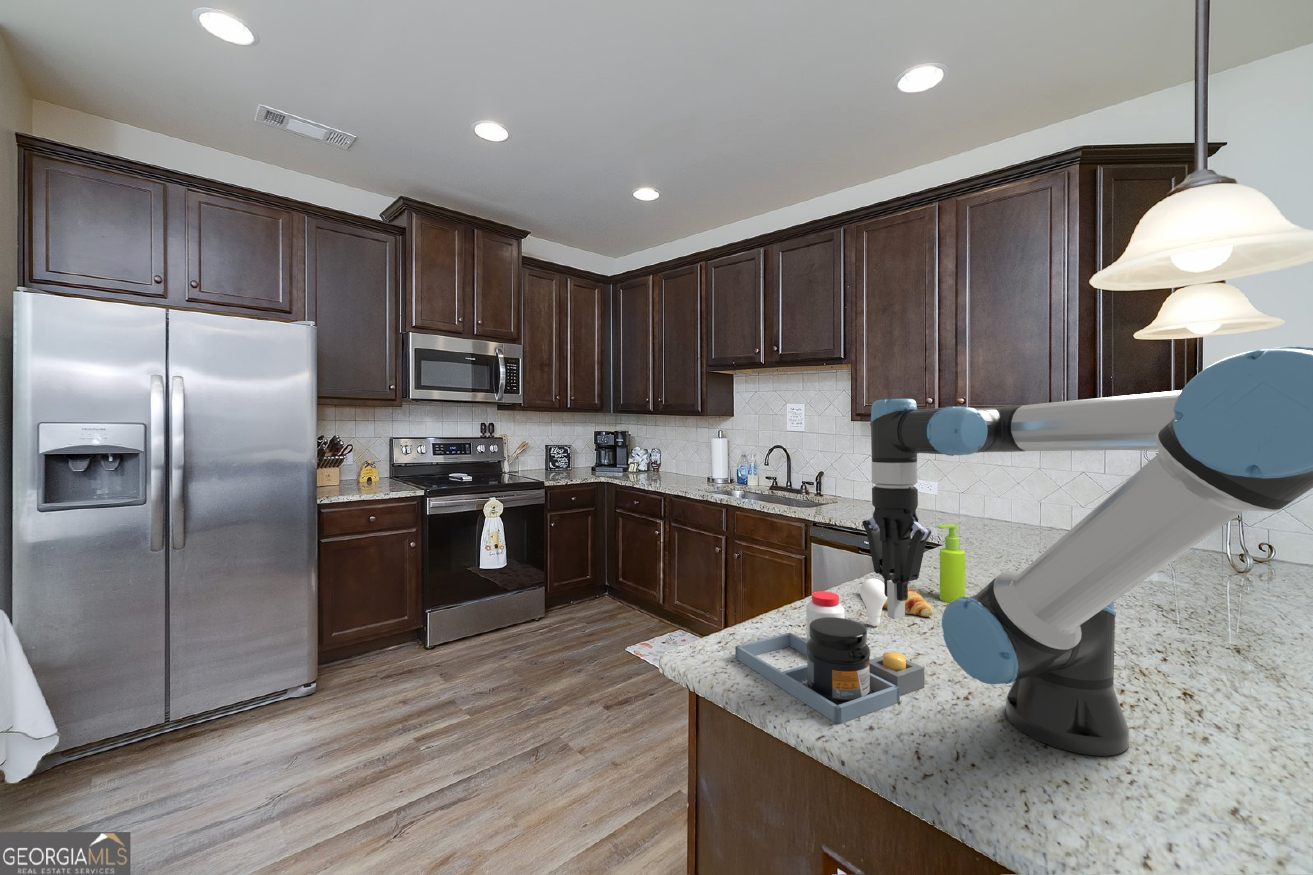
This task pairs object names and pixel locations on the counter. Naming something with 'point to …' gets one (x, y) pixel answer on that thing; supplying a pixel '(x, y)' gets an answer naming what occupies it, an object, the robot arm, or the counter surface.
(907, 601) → the croissant
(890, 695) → the frame
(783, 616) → the counter surface
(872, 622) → the lightbulb
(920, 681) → the grey egg holder
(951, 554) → the soap dispenser
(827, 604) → the pill bottle
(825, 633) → the supplement container
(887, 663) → the button
